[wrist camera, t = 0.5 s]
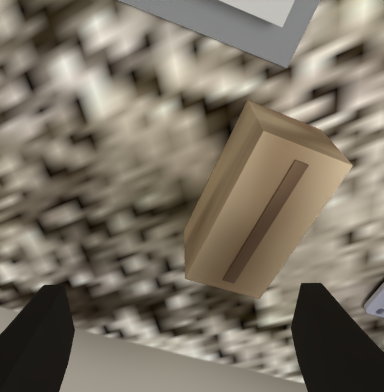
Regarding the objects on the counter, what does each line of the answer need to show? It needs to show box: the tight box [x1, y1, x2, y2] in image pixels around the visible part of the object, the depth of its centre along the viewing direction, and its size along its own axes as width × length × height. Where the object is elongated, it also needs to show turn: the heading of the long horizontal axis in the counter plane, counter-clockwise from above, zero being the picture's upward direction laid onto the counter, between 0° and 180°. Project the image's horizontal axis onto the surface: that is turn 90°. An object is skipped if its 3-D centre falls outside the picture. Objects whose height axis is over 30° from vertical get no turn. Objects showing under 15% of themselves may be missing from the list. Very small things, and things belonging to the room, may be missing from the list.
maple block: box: [184, 100, 353, 299], centre depth 18 cm, size 4×8×4 cm, turn 158°
